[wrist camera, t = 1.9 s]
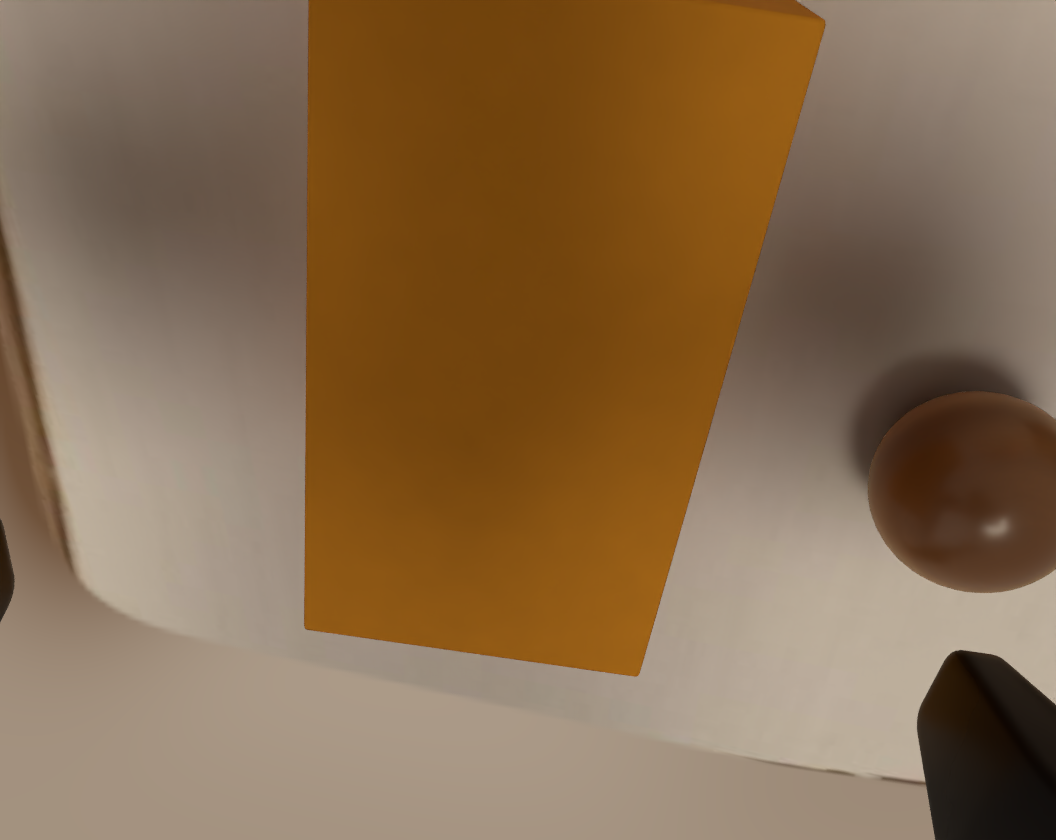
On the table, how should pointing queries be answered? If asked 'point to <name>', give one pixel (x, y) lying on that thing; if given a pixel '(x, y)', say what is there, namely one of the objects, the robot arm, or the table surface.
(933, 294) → the table surface
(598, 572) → the sponge
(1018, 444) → the brown ball
